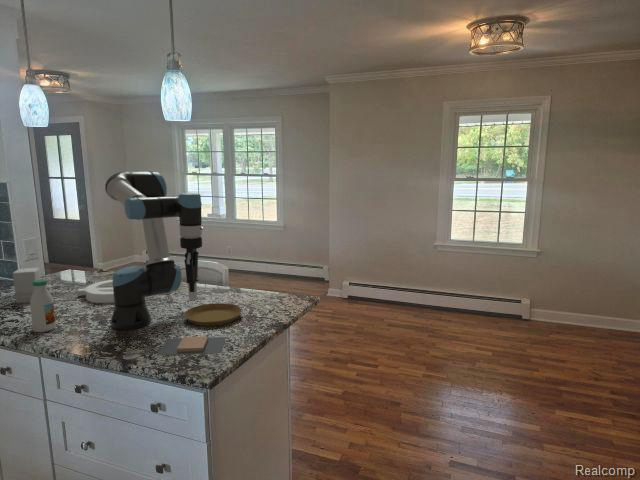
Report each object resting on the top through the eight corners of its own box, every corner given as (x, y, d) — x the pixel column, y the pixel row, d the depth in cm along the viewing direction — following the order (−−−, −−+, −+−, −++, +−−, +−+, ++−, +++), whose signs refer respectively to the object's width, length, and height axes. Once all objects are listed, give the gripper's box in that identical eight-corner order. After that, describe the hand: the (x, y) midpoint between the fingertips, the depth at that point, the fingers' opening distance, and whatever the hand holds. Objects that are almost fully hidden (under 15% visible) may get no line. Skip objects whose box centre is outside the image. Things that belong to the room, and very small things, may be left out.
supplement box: (43, 296, 206) (40, 267, 203) (37, 301, 198) (34, 271, 195) (22, 297, 203) (19, 268, 201) (15, 303, 195) (11, 272, 192)
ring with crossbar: (158, 292, 215) (158, 284, 214) (106, 307, 192) (105, 297, 191) (126, 284, 230) (125, 276, 229) (74, 296, 207) (73, 287, 206)
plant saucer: (198, 308, 192) (197, 301, 192) (248, 310, 190) (248, 303, 189) (174, 327, 169) (174, 320, 168) (231, 331, 166) (231, 323, 166)
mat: (156, 356, 143) (156, 355, 142) (167, 339, 156) (167, 338, 156) (221, 354, 145) (221, 353, 145) (226, 338, 158) (226, 337, 158)
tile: (183, 340, 155) (177, 352, 145) (183, 337, 154) (176, 348, 145) (207, 339, 156) (203, 351, 146) (207, 336, 155) (203, 347, 146)
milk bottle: (38, 334, 160) (33, 284, 156) (29, 330, 164) (23, 281, 160) (59, 328, 166) (55, 279, 163) (50, 324, 170) (45, 277, 167)
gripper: (198, 240, 142) (200, 305, 146) (204, 233, 154) (206, 293, 159) (175, 239, 141) (178, 305, 145) (184, 233, 154) (186, 293, 158)
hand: (192, 299), depth 152 cm, fingers closed
